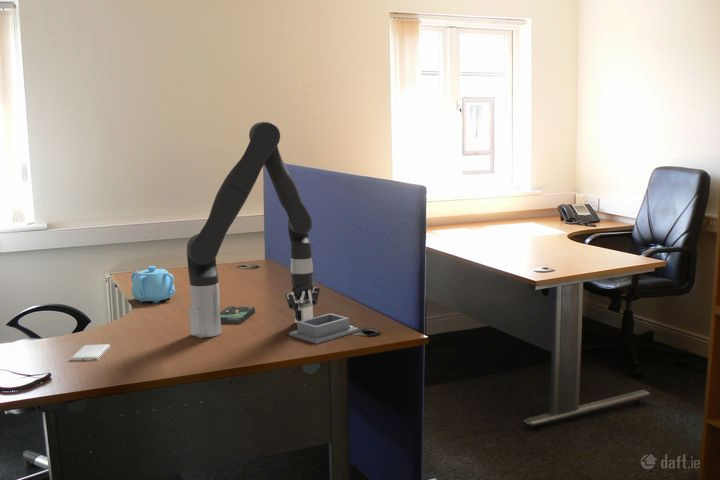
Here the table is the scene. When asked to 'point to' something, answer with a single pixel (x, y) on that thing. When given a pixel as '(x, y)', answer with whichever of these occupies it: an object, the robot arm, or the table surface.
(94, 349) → the hard drive
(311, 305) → the block
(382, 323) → the table surface
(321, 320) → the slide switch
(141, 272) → the decorative pot
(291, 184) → the robot arm
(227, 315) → the disk drive
